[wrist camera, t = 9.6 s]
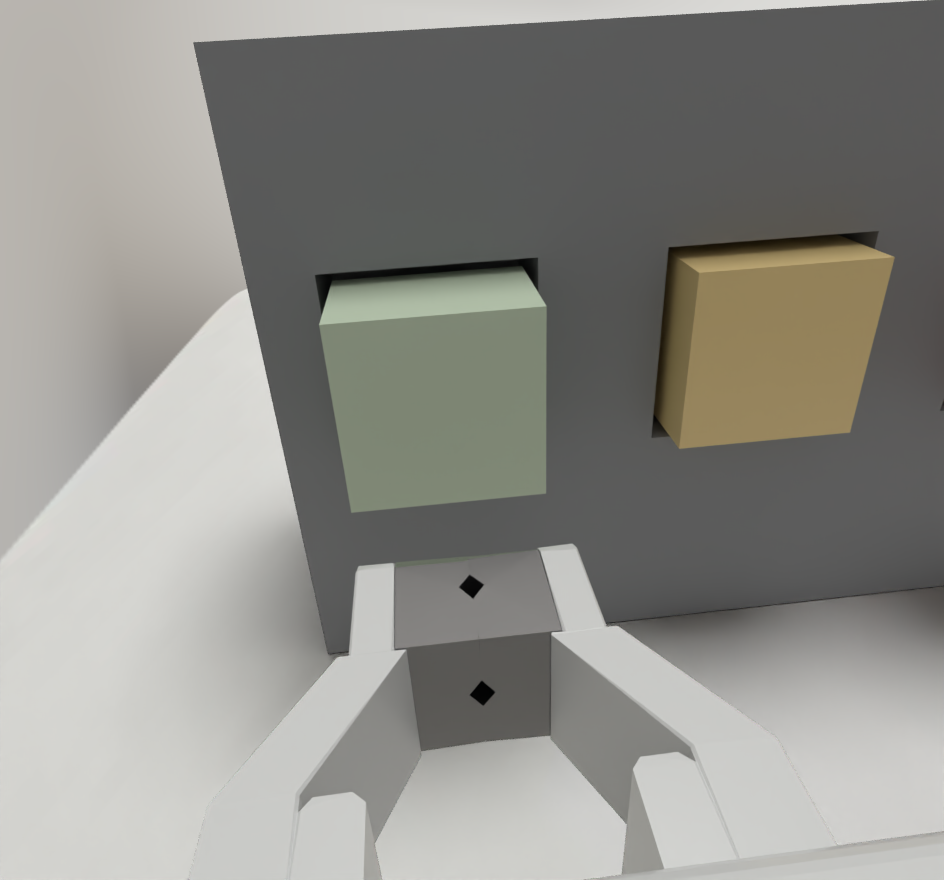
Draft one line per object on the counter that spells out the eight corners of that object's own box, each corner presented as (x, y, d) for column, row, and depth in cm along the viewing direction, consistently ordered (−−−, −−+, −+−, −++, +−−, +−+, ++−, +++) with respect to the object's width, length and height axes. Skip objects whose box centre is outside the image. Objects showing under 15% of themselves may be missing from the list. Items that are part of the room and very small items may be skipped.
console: (1073, 571, 22) (1370, -26, 14) (327, 653, 20) (193, 42, 13) (910, 448, 29) (1048, 4, 21) (345, 503, 27) (265, 49, 20)
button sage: (546, 493, 15) (546, 306, 13) (351, 512, 15) (319, 324, 13) (524, 430, 18) (521, 265, 16) (358, 446, 18) (332, 280, 15)
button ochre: (849, 432, 17) (894, 257, 15) (678, 448, 17) (699, 272, 15) (789, 383, 20) (820, 227, 17) (641, 396, 19) (653, 240, 17)
